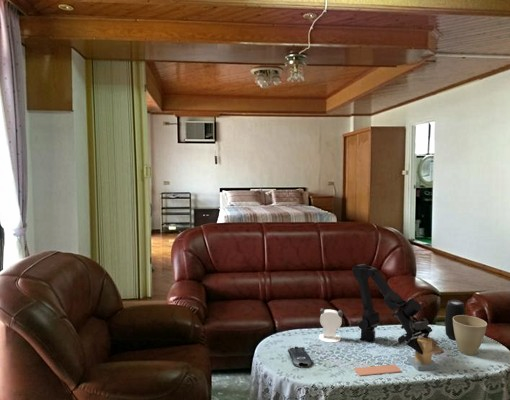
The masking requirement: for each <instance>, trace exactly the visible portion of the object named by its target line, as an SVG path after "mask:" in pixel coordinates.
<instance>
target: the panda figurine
mask: <svg viewBox="0 0 510 400" xmlns="http://www.w3.org/2000/svg"><path fill="white" fill-rule="evenodd" d="M319 314H320V317H319V323H320V325H321V327H322V330H323V331H322V332H323V333H320V334H319V336H318V338H319V340H321V341H322V342H325V343H339V342H340V341H341V340H342V338H341V336H340V335H339V334H337V331H339V328H340V327H341V326H342V322H343V321H342V320H343V319H342V317H343V316H344V314H343V311H342V310H341V309H339V310H338V311H337V310H335V309H324V308H323V307H321V308H320V311H319Z"/></svg>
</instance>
